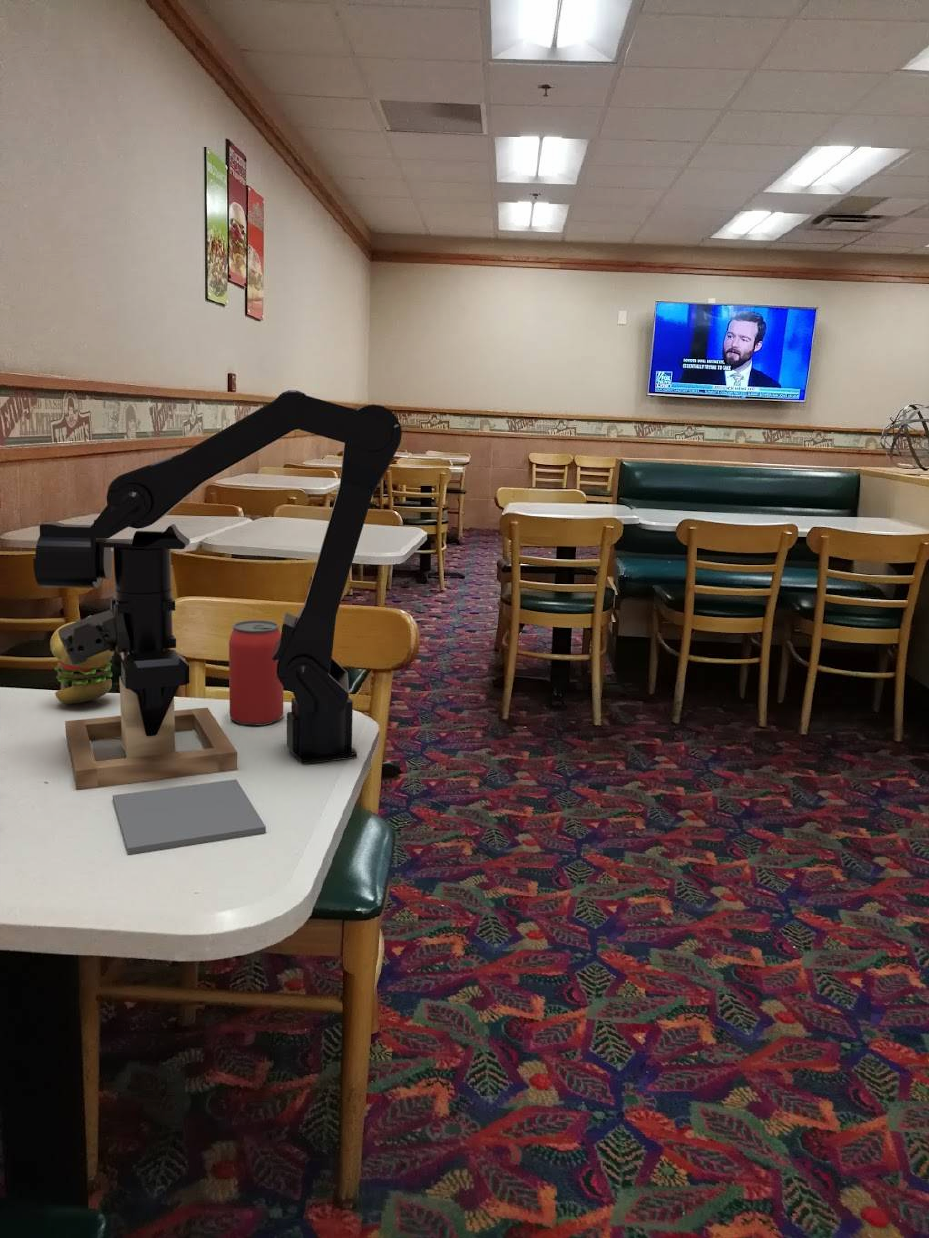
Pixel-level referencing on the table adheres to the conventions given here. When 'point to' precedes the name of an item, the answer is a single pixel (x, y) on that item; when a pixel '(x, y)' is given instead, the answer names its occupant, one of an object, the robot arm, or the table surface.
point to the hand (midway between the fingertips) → (147, 727)
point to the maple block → (134, 729)
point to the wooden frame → (150, 767)
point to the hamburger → (81, 674)
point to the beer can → (254, 673)
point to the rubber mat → (185, 816)
